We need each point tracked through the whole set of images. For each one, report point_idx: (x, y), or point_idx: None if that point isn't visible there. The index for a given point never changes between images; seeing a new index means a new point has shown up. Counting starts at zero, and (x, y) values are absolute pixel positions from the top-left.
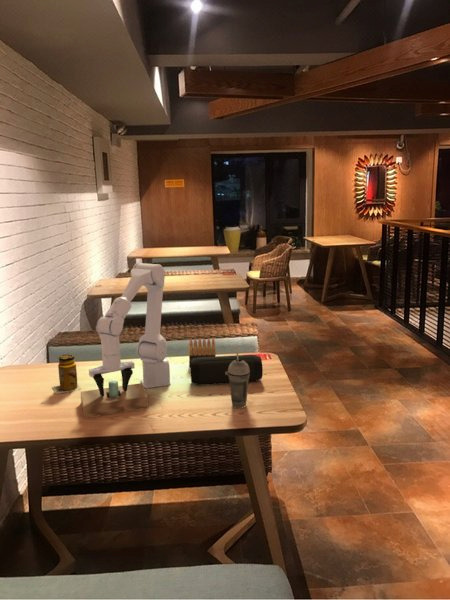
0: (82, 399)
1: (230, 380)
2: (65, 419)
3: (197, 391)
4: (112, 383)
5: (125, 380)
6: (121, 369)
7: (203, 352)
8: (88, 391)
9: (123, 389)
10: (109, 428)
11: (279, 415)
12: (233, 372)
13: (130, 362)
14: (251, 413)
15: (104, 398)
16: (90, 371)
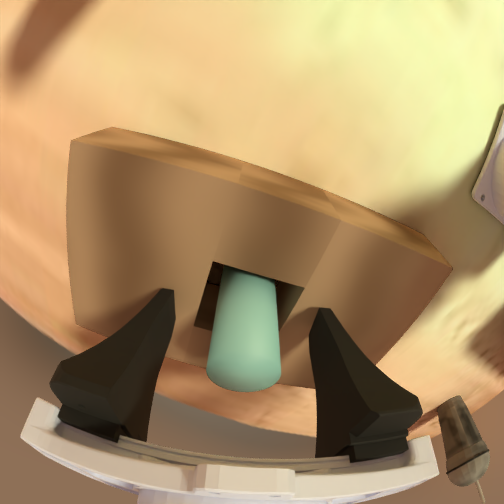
0: (69, 262)
1: (452, 455)
2: (43, 252)
3: (496, 325)
4: (229, 382)
5: (317, 405)
6: (319, 467)
7: None
8: (113, 167)
9: (316, 319)
10: (163, 377)
11: (432, 431)
12: (449, 477)
13: (407, 487)
14: (426, 423)
15: (175, 322)
16: (43, 454)
